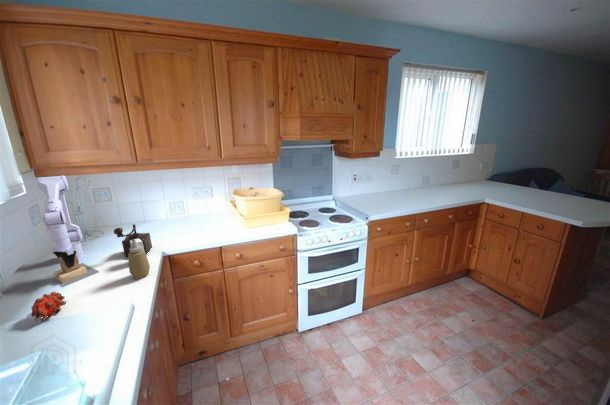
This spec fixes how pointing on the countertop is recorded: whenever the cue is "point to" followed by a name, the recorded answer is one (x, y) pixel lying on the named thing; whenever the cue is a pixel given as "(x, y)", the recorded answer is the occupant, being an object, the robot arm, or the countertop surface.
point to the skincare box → (138, 243)
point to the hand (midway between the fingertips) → (68, 265)
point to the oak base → (70, 274)
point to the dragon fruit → (48, 305)
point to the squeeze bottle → (138, 261)
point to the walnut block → (66, 269)
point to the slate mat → (89, 271)
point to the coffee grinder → (126, 242)
